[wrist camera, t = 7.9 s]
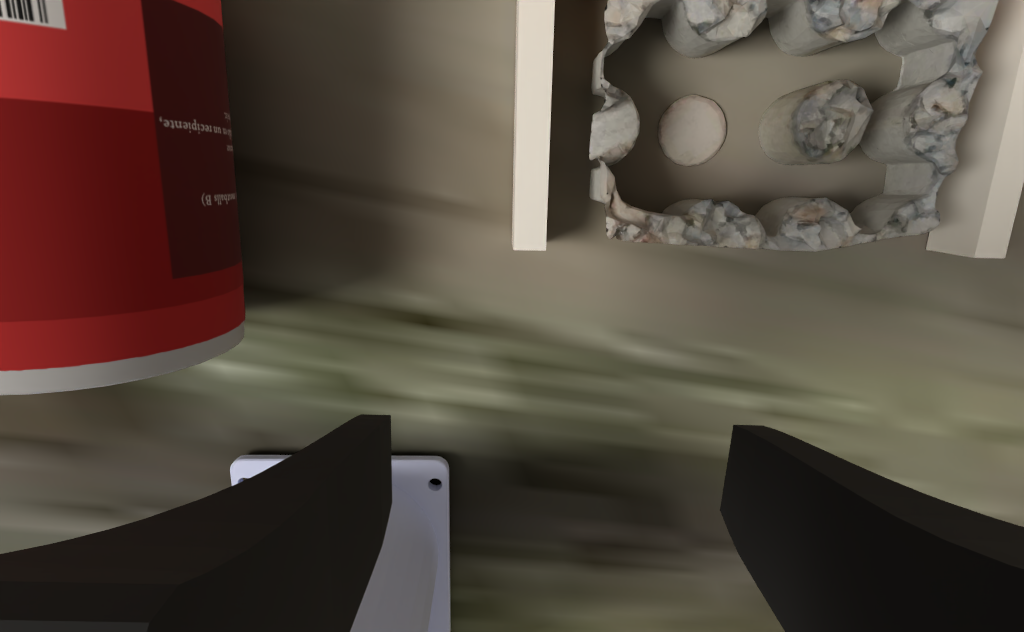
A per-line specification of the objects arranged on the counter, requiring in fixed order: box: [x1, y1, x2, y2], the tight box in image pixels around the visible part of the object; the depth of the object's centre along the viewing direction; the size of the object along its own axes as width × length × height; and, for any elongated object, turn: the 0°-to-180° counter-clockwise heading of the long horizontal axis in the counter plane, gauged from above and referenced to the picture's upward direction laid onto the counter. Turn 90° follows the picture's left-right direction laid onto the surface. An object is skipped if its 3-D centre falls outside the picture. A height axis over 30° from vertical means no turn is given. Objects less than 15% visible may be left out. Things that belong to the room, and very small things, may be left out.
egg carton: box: [589, 0, 999, 251], centre depth 16 cm, size 11×8×4 cm
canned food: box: [0, 0, 245, 395], centre depth 14 cm, size 8×8×11 cm
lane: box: [512, 0, 1024, 258], centre depth 14 cm, size 14×16×6 cm
